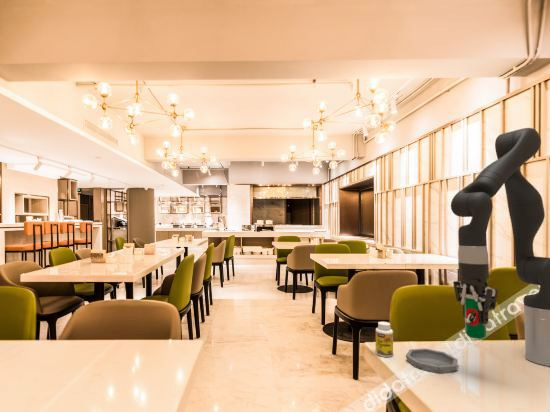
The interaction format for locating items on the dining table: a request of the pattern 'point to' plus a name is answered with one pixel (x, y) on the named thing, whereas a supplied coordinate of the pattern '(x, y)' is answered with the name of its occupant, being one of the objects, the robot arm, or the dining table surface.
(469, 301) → the soda can
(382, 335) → the supplement bottle
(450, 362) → the dish
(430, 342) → the dining table surface
